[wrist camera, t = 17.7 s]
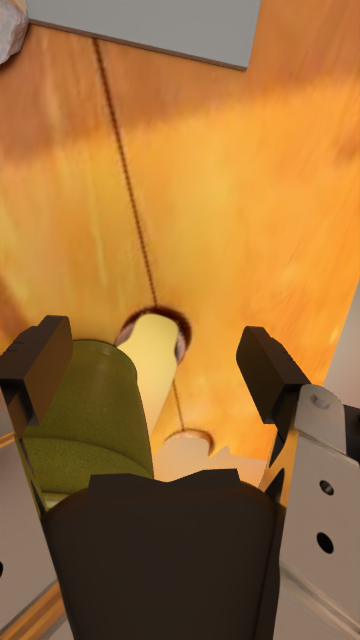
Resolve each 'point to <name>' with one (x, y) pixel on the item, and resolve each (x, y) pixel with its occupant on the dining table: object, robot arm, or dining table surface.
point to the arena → (158, 25)
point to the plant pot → (90, 424)
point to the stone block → (11, 29)
